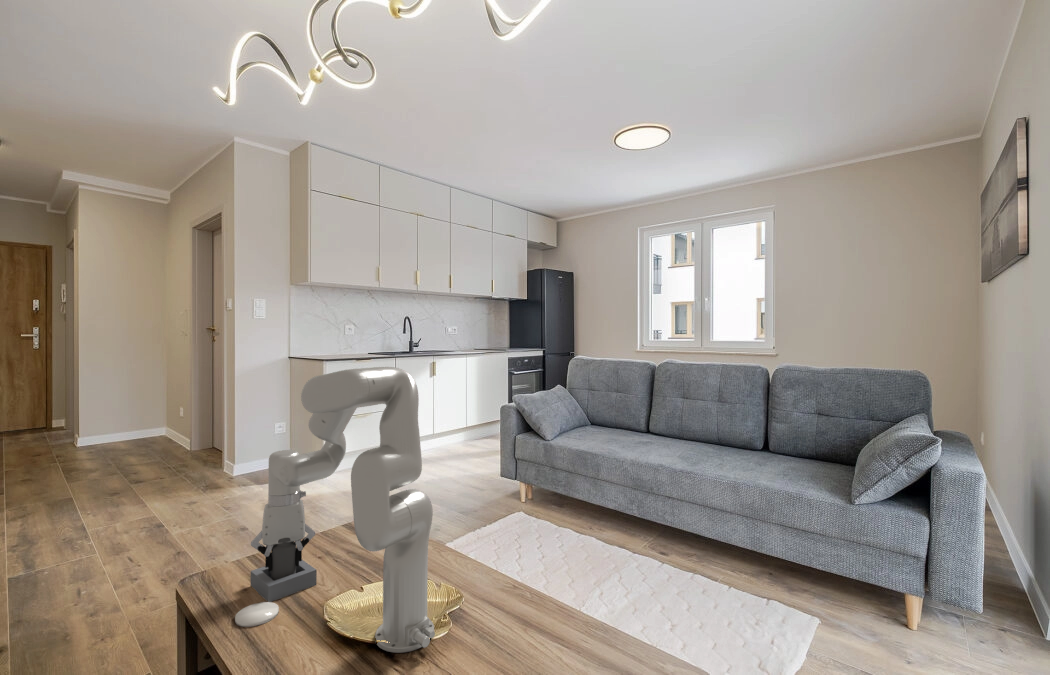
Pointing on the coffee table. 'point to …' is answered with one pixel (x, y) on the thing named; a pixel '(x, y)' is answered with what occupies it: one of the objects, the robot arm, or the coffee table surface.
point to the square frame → (283, 582)
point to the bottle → (283, 559)
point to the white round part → (256, 614)
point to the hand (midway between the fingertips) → (283, 566)
